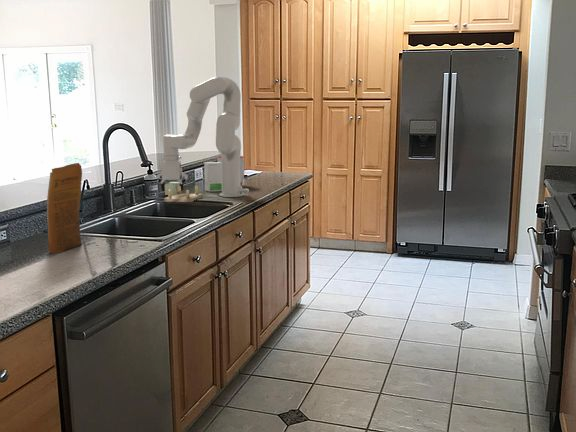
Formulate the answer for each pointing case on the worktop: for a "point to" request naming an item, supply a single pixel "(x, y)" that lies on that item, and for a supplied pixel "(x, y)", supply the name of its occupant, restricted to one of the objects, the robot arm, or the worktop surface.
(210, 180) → the skincare box
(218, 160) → the citrus juicer
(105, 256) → the worktop surface
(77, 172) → the pancake mix bag
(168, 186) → the block
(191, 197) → the mount plate
